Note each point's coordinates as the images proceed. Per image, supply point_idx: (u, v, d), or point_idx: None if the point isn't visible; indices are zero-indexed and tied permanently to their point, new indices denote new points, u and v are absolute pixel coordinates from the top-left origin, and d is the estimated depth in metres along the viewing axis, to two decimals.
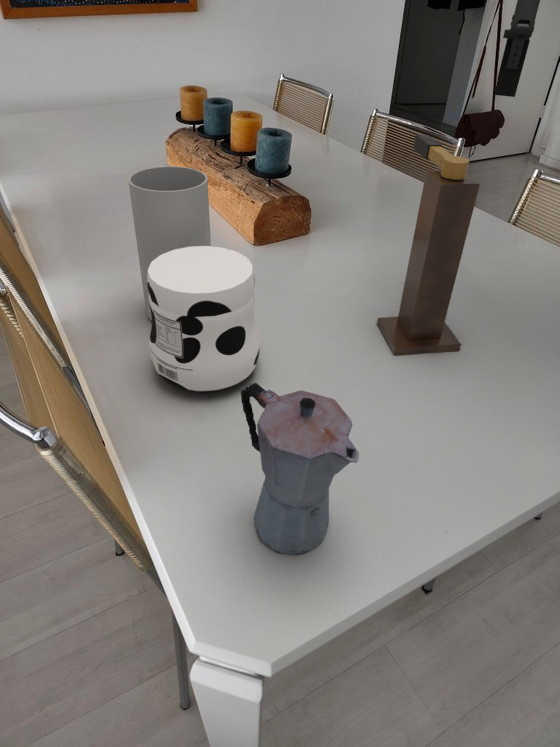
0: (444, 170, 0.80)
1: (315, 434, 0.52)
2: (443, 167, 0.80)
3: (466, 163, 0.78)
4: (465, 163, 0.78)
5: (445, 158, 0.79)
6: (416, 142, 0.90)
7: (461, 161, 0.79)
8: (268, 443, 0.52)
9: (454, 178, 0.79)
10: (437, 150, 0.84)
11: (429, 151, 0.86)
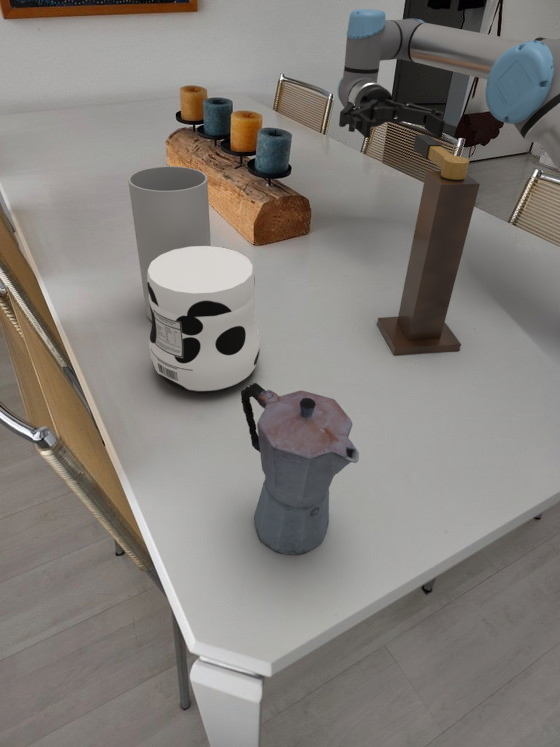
0: (444, 170, 0.80)
1: (315, 434, 0.52)
2: (443, 167, 0.80)
3: (466, 163, 0.78)
4: (465, 163, 0.78)
5: (445, 158, 0.79)
6: (416, 142, 0.90)
7: (461, 161, 0.79)
8: (268, 443, 0.52)
9: (454, 178, 0.79)
10: (437, 150, 0.84)
11: (429, 151, 0.86)
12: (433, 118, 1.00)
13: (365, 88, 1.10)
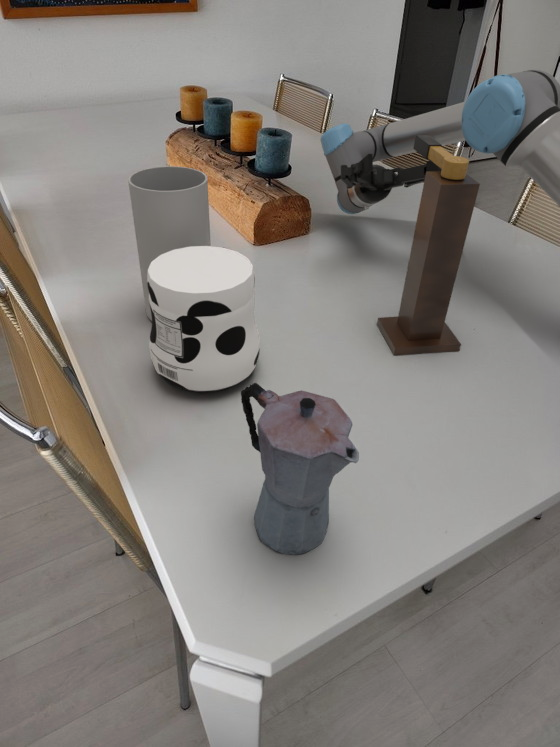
0: (444, 170, 0.80)
1: (315, 434, 0.52)
2: (443, 167, 0.80)
3: (466, 163, 0.78)
4: (465, 163, 0.78)
5: (445, 158, 0.79)
6: (416, 142, 0.90)
7: (461, 161, 0.79)
8: (268, 443, 0.52)
9: (454, 178, 0.79)
10: (437, 150, 0.84)
11: (429, 151, 0.86)
12: None
13: None
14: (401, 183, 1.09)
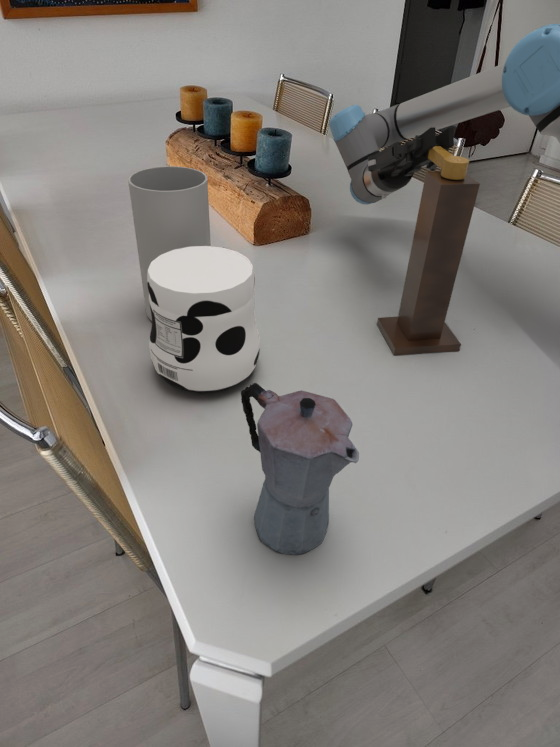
0: (444, 170, 0.80)
1: (315, 434, 0.52)
2: (443, 167, 0.80)
3: (466, 163, 0.78)
4: (465, 163, 0.78)
5: (445, 158, 0.79)
6: None
7: (461, 161, 0.79)
8: (268, 443, 0.52)
9: (454, 178, 0.79)
10: (437, 150, 0.84)
11: (429, 151, 0.86)
12: (439, 135, 0.86)
13: None
14: None
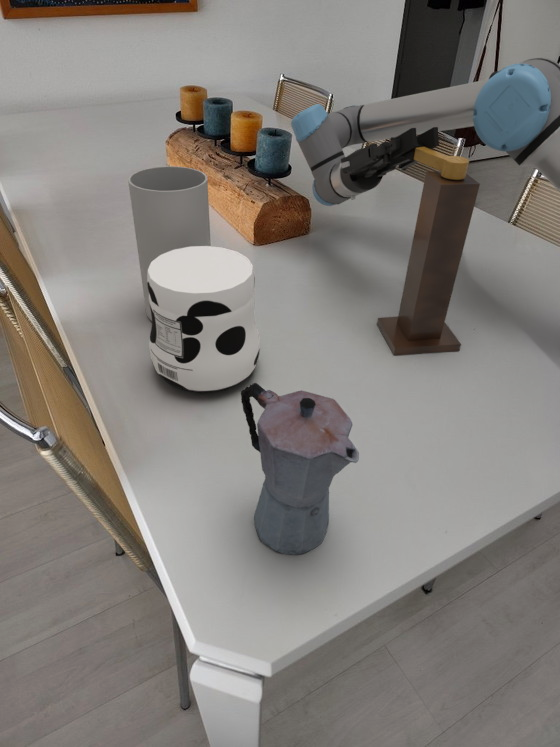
0: (447, 171, 0.79)
1: (315, 434, 0.52)
2: (445, 168, 0.79)
3: (468, 162, 0.79)
4: (467, 162, 0.78)
5: (446, 159, 0.79)
6: None
7: (463, 161, 0.79)
8: (268, 443, 0.52)
9: (458, 178, 0.79)
10: (427, 151, 0.83)
11: (416, 153, 0.85)
12: (421, 135, 0.86)
13: (349, 155, 1.02)
14: None
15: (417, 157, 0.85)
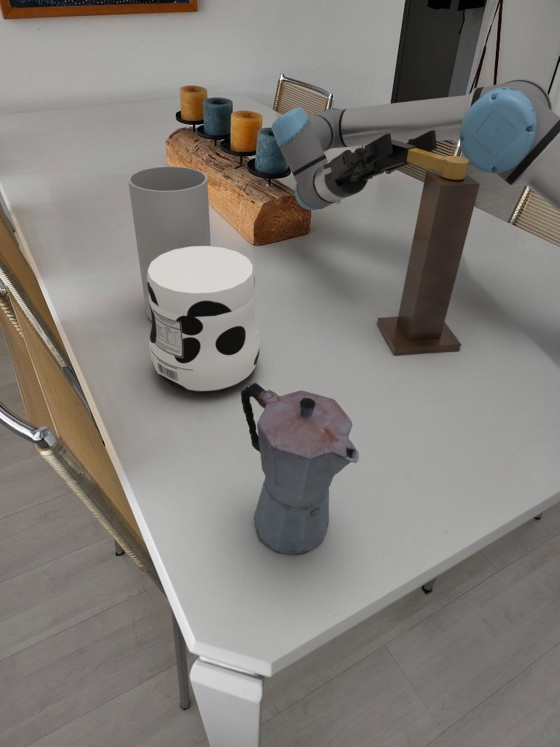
0: (450, 172, 0.79)
1: (315, 434, 0.52)
2: (448, 169, 0.79)
3: (468, 161, 0.79)
4: (468, 162, 0.79)
5: (447, 160, 0.79)
6: None
7: (463, 160, 0.79)
8: (268, 443, 0.52)
9: (461, 178, 0.79)
10: (422, 152, 0.82)
11: (409, 154, 0.84)
12: (418, 138, 0.86)
13: (333, 159, 1.00)
14: None
15: (411, 159, 0.84)
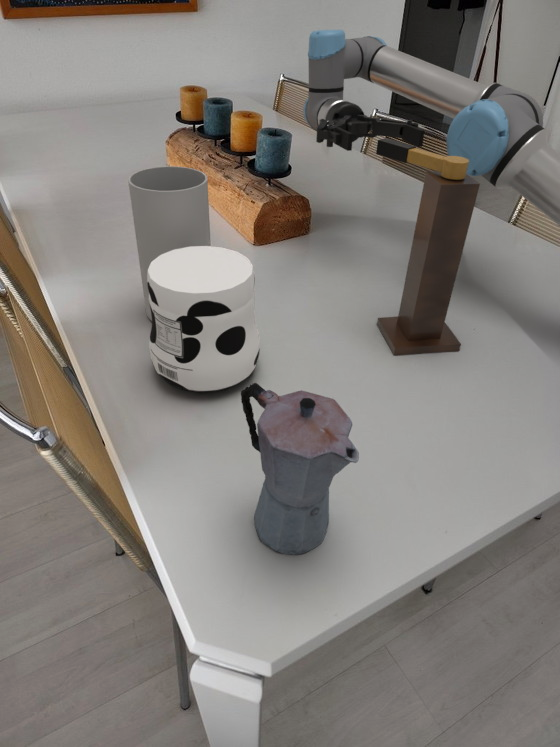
0: (450, 172, 0.79)
1: (315, 434, 0.52)
2: (448, 169, 0.79)
3: (468, 161, 0.79)
4: (468, 162, 0.79)
5: (447, 160, 0.79)
6: (381, 147, 0.87)
7: (463, 160, 0.79)
8: (268, 443, 0.52)
9: (461, 178, 0.79)
10: (422, 152, 0.82)
11: (409, 154, 0.84)
12: (411, 128, 0.98)
13: (335, 105, 1.08)
14: (375, 136, 1.06)
15: (411, 159, 0.84)
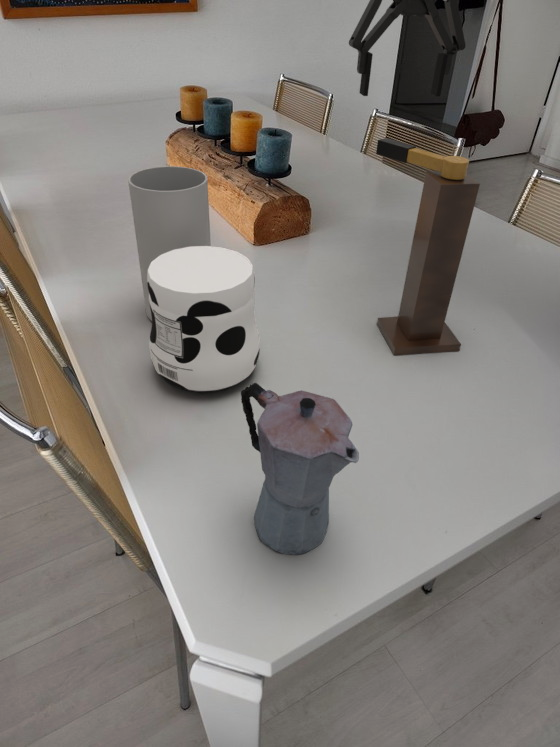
0: (450, 172, 0.79)
1: (315, 434, 0.52)
2: (448, 169, 0.79)
3: (468, 161, 0.79)
4: (468, 162, 0.79)
5: (447, 160, 0.79)
6: (381, 147, 0.87)
7: (463, 160, 0.79)
8: (268, 443, 0.52)
9: (461, 178, 0.79)
10: (422, 152, 0.82)
11: (409, 154, 0.84)
12: (439, 75, 0.96)
13: None
14: None
15: (411, 159, 0.84)
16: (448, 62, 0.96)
